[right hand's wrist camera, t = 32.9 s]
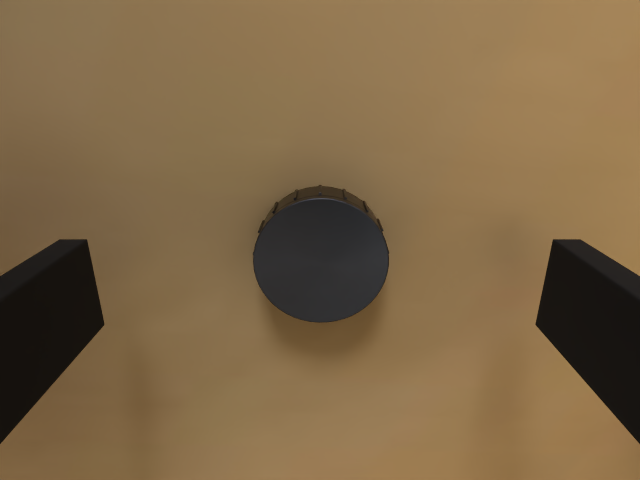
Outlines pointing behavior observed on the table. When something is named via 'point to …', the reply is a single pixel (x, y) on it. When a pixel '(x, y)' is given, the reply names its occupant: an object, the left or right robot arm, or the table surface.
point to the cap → (321, 255)
